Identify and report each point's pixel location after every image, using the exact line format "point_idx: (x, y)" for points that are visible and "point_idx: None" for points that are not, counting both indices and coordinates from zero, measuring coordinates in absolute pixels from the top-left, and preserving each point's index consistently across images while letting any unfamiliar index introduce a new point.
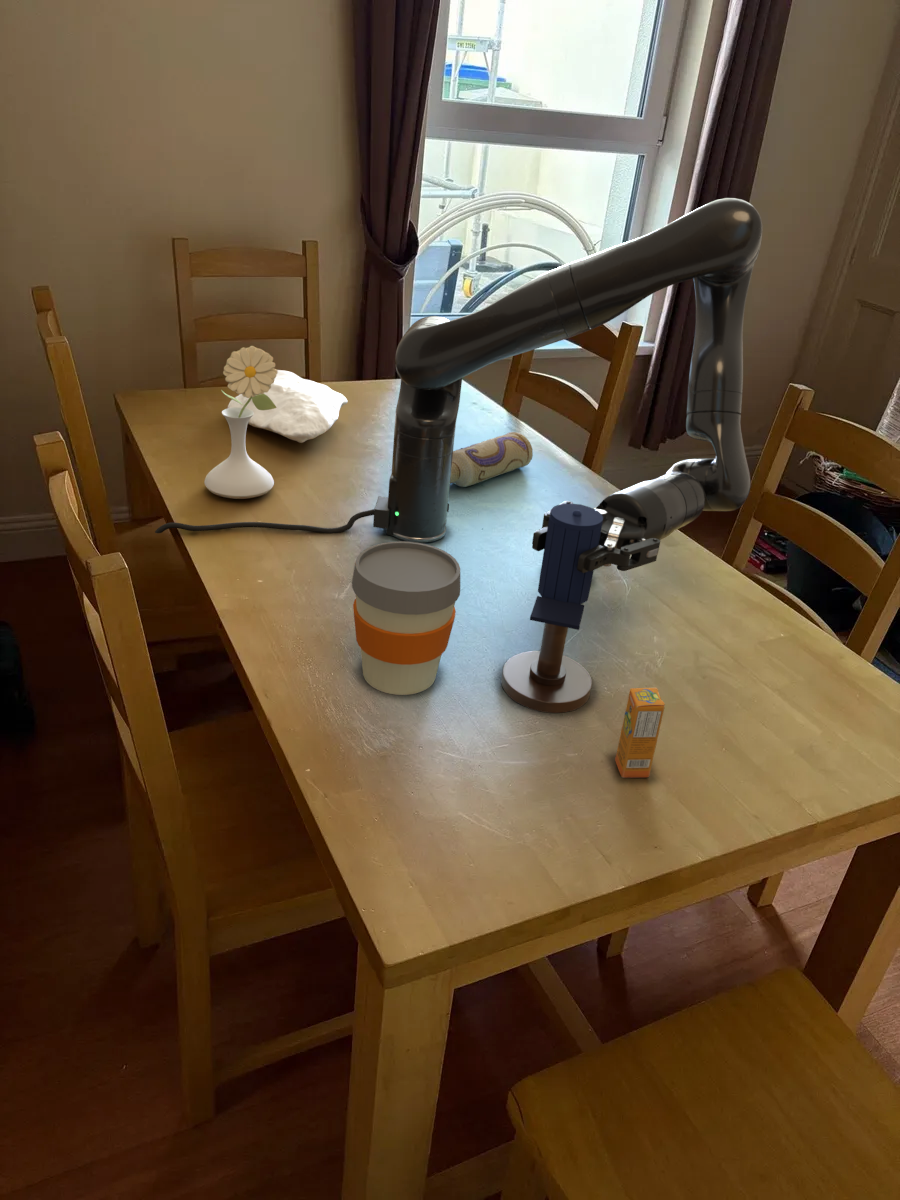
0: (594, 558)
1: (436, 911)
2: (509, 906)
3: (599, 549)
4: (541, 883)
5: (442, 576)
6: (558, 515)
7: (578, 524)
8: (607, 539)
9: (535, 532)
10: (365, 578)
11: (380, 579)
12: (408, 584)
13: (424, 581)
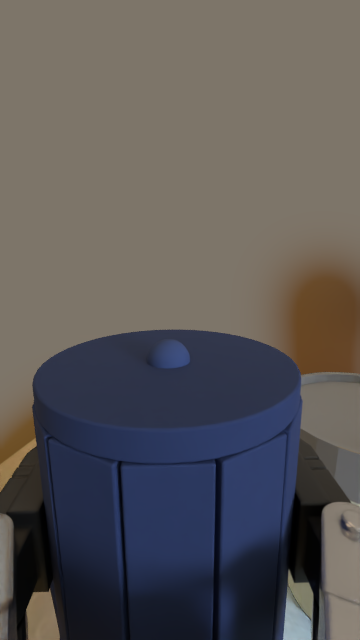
0: (31, 453)
1: None
2: (21, 456)
3: (26, 481)
4: (2, 481)
5: (333, 436)
6: (205, 337)
7: (110, 338)
8: (5, 587)
9: (299, 441)
10: (333, 372)
11: (341, 390)
12: (317, 401)
13: (321, 414)
